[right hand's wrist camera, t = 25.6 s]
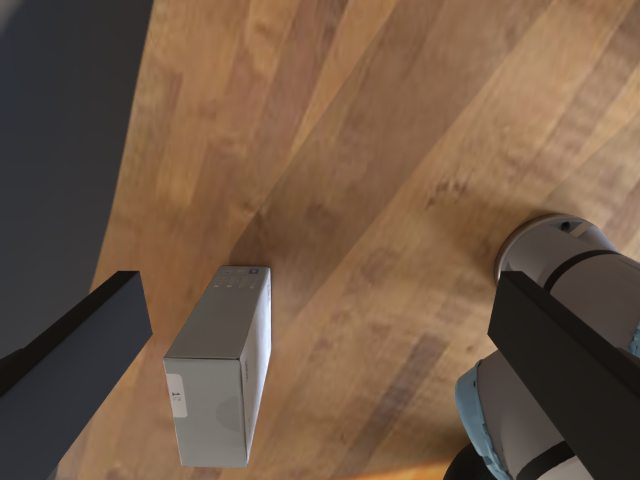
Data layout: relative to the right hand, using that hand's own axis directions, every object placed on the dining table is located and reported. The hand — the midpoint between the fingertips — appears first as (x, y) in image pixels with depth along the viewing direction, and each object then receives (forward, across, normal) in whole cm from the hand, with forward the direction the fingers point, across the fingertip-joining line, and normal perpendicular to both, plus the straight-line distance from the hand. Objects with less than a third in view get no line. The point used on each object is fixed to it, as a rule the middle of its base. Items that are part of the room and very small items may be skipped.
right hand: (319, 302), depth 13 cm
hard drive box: (+35, +11, +23) cm, 44 cm away
